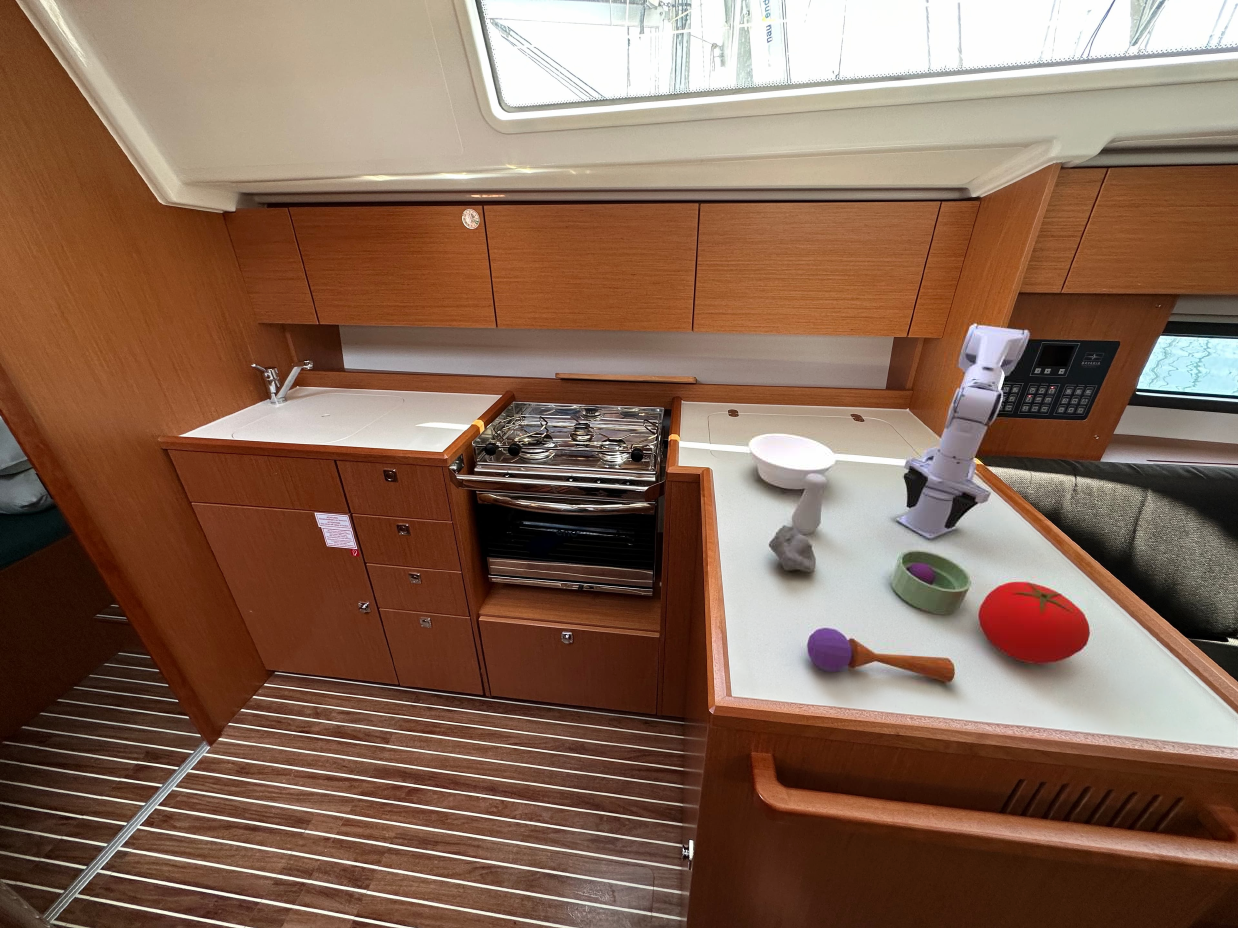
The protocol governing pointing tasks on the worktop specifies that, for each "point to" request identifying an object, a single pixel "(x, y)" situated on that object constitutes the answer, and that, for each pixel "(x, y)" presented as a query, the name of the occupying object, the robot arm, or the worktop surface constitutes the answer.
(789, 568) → the grey rock
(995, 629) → the tomato
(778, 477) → the bowl
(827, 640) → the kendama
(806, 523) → the salt shaker
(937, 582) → the green bowl
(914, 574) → the ball
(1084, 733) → the worktop surface
